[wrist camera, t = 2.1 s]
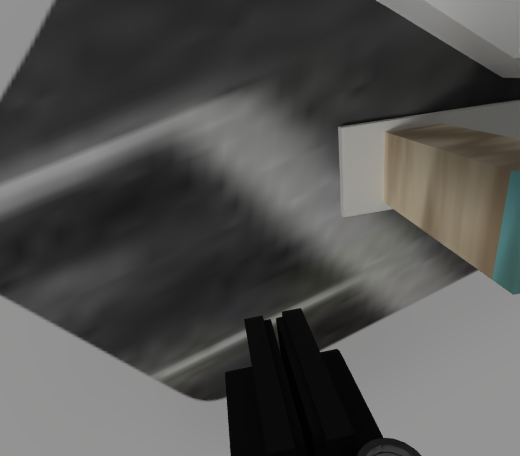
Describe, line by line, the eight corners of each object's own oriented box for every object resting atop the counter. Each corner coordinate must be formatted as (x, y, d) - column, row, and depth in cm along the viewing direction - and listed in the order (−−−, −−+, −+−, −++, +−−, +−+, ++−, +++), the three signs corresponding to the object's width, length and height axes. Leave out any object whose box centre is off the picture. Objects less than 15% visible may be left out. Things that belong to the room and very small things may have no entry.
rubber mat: (596, 88, 25) (605, 88, 24) (575, 175, 28) (582, 176, 27) (338, 126, 24) (341, 127, 23) (341, 214, 26) (343, 217, 26)
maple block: (441, 123, 24) (638, 162, 13) (435, 193, 26) (600, 277, 15) (384, 132, 24) (536, 179, 13) (383, 201, 26) (513, 294, 15)
